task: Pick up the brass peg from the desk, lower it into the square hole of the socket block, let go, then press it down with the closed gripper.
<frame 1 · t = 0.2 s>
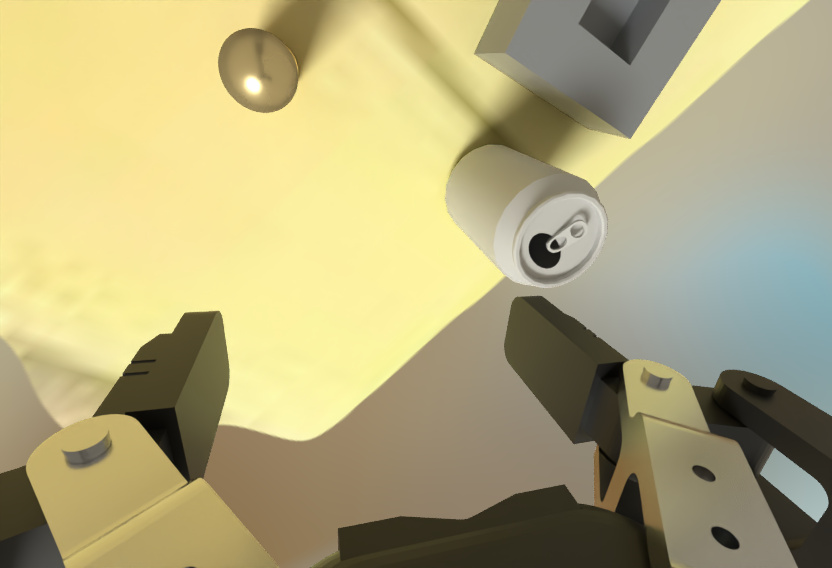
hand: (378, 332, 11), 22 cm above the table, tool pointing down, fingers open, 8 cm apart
socket: (580, 11, 28), on the table
can: (482, 187, 33), on the table
peg: (272, 68, 25), on the table
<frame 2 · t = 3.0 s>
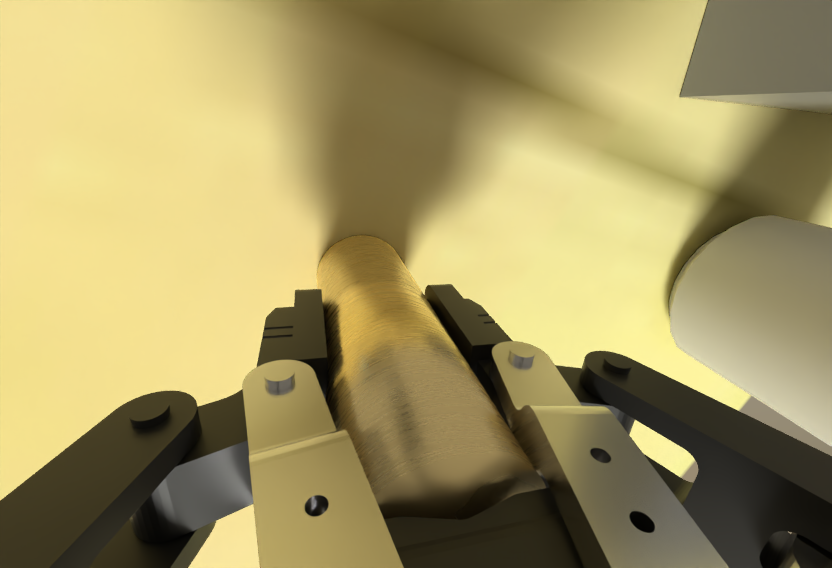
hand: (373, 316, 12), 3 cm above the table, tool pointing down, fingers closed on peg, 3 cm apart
can: (715, 282, 20), on the table
peg: (361, 276, 14), on the table, touching gripper
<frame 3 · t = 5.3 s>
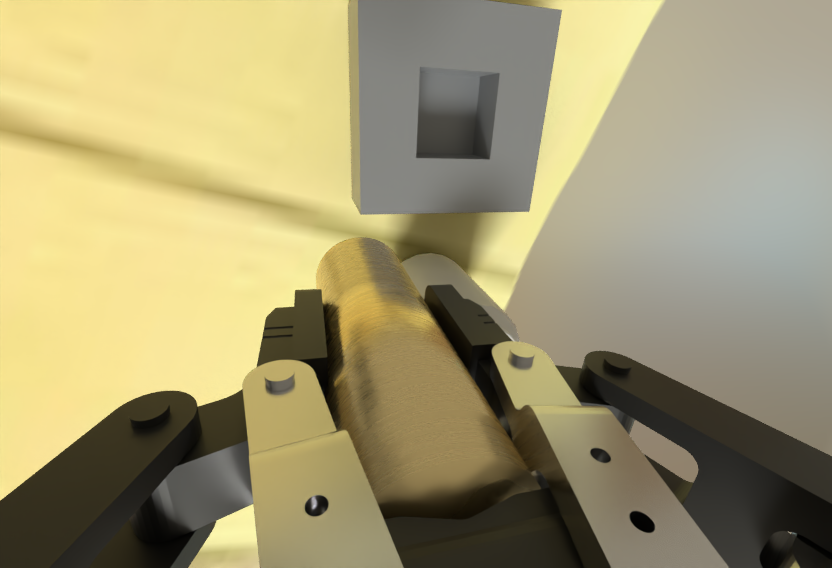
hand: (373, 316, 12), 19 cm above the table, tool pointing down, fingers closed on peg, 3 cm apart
socket: (433, 115, 28), on the table
can: (421, 289, 34), on the table
peg: (360, 278, 15), point 16 cm above the table, touching gripper
when the fingers open (7 cm above the table, at t = 8.1 s): peg drops 1 cm, resting on socket.
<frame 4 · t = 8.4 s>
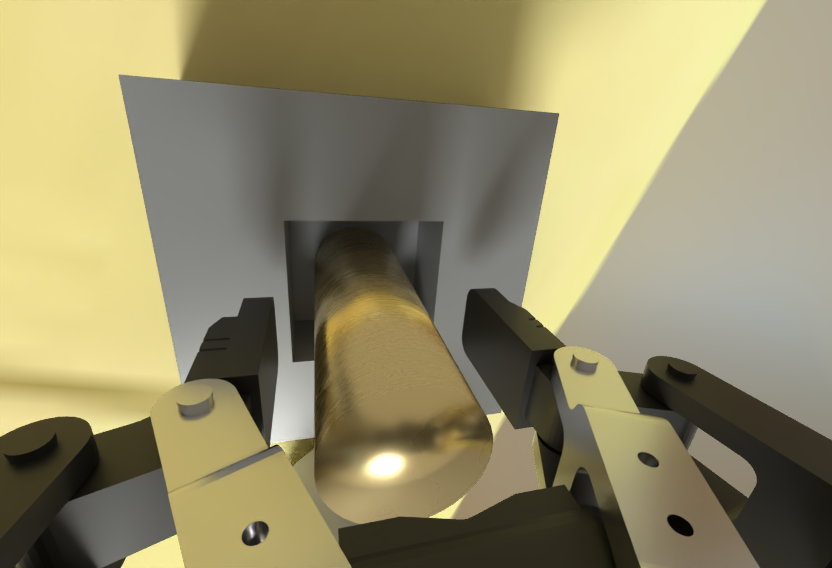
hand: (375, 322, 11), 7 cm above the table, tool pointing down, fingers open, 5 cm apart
socket: (351, 247, 18), on the table
can: (348, 471, 23), on the table
peg: (355, 265, 16), point 2 cm above the table, touching socket
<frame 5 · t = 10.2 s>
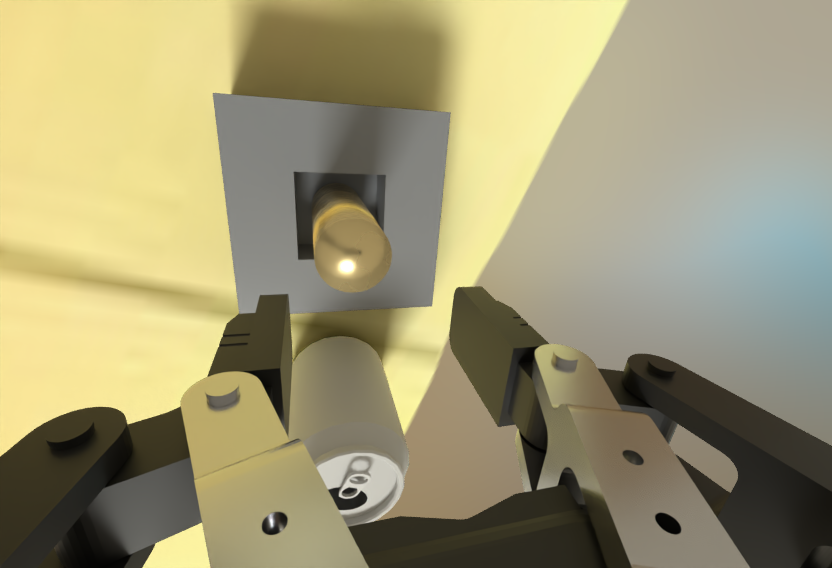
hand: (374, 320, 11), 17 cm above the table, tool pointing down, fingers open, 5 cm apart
socket: (335, 200, 27), on the table
can: (336, 368, 32), on the table
peg: (337, 208, 25), point 2 cm above the table, touching socket
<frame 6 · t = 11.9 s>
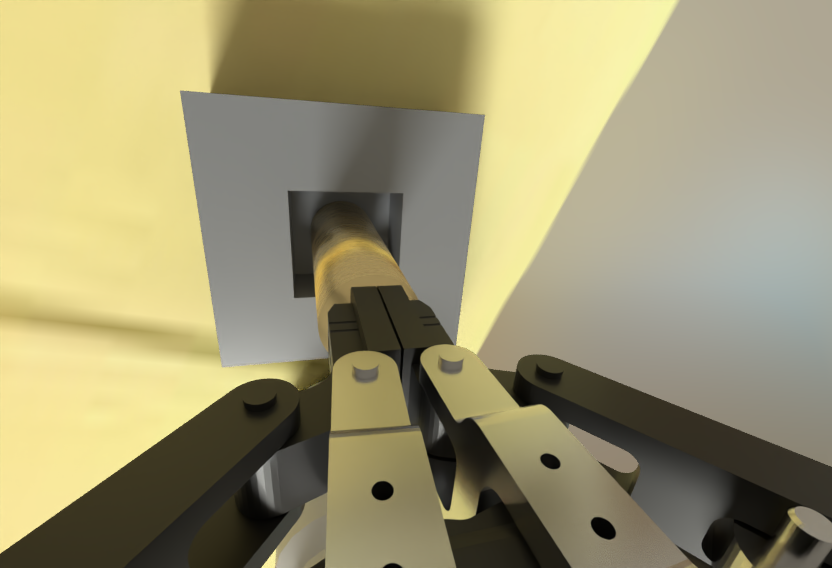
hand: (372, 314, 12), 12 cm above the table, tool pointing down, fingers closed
socket: (339, 219, 22), on the table
can: (339, 410, 28), on the table
peg: (341, 231, 21), point 2 cm above the table, touching gripper, socket
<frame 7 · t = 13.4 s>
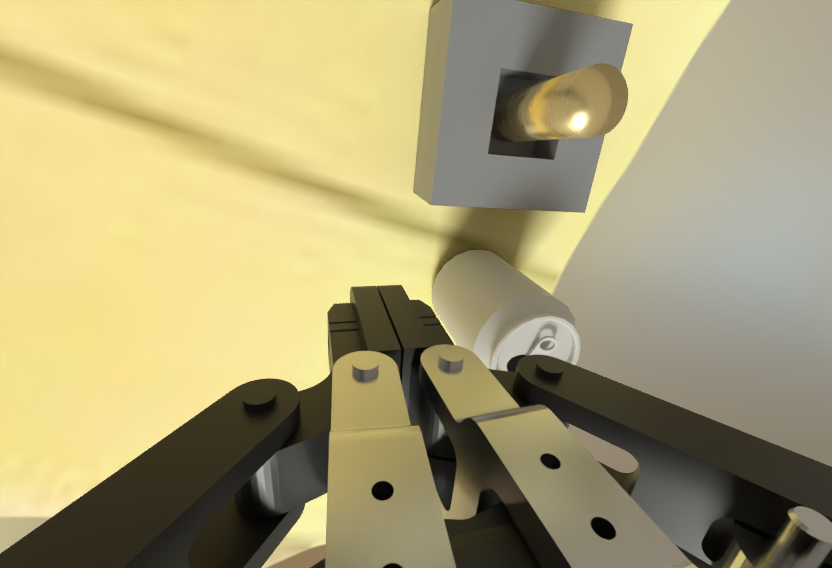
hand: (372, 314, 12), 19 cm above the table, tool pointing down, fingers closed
socket: (496, 117, 30), on the table
can: (468, 285, 35), on the table
peg: (508, 118, 28), point 2 cm above the table, touching socket
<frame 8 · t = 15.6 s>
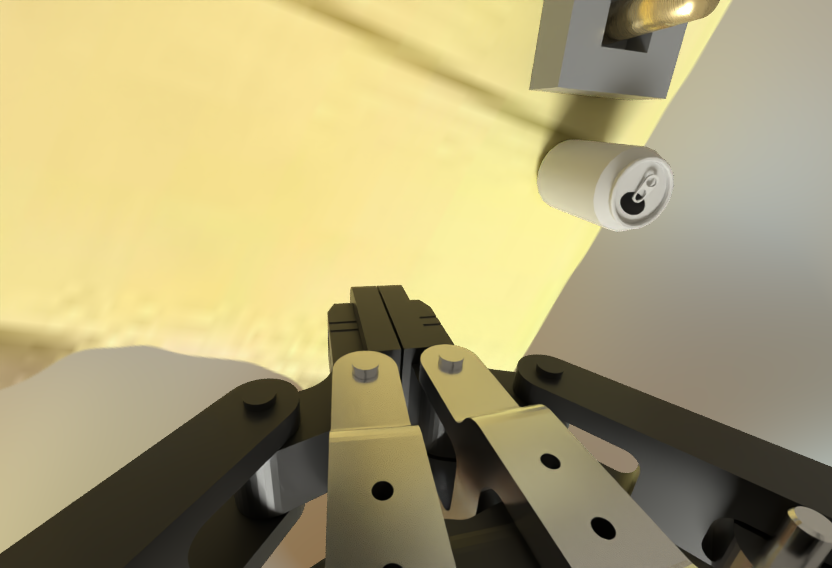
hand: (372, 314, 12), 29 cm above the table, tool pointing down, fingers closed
socket: (594, 27, 38), on the table
can: (561, 173, 44), on the table
peg: (608, 24, 36), point 2 cm above the table, touching socket
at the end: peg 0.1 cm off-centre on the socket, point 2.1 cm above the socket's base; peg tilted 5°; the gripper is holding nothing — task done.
